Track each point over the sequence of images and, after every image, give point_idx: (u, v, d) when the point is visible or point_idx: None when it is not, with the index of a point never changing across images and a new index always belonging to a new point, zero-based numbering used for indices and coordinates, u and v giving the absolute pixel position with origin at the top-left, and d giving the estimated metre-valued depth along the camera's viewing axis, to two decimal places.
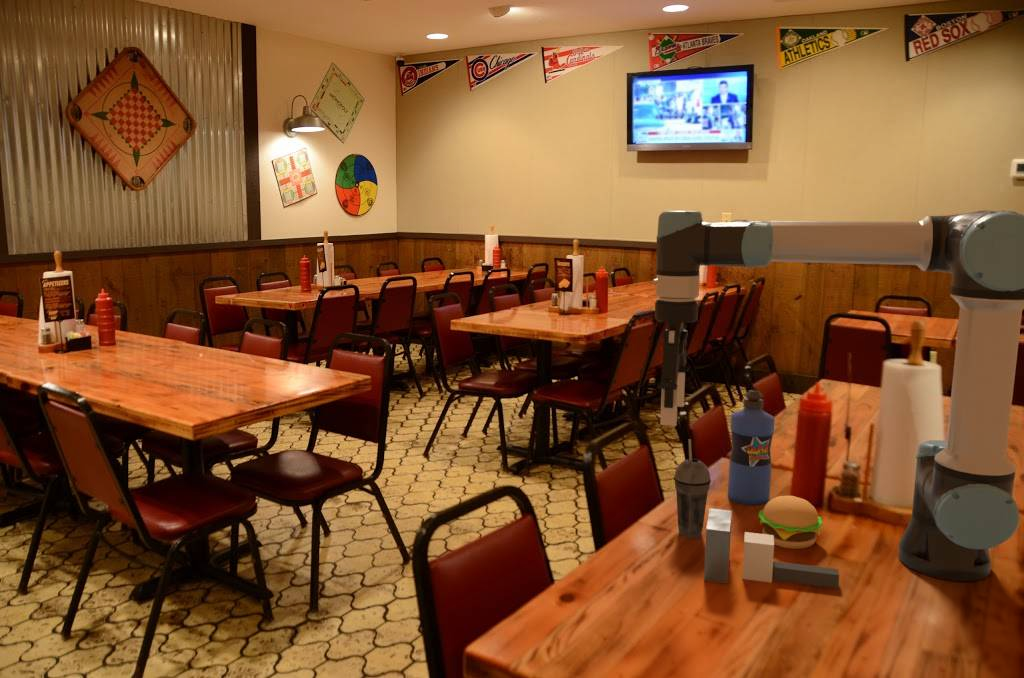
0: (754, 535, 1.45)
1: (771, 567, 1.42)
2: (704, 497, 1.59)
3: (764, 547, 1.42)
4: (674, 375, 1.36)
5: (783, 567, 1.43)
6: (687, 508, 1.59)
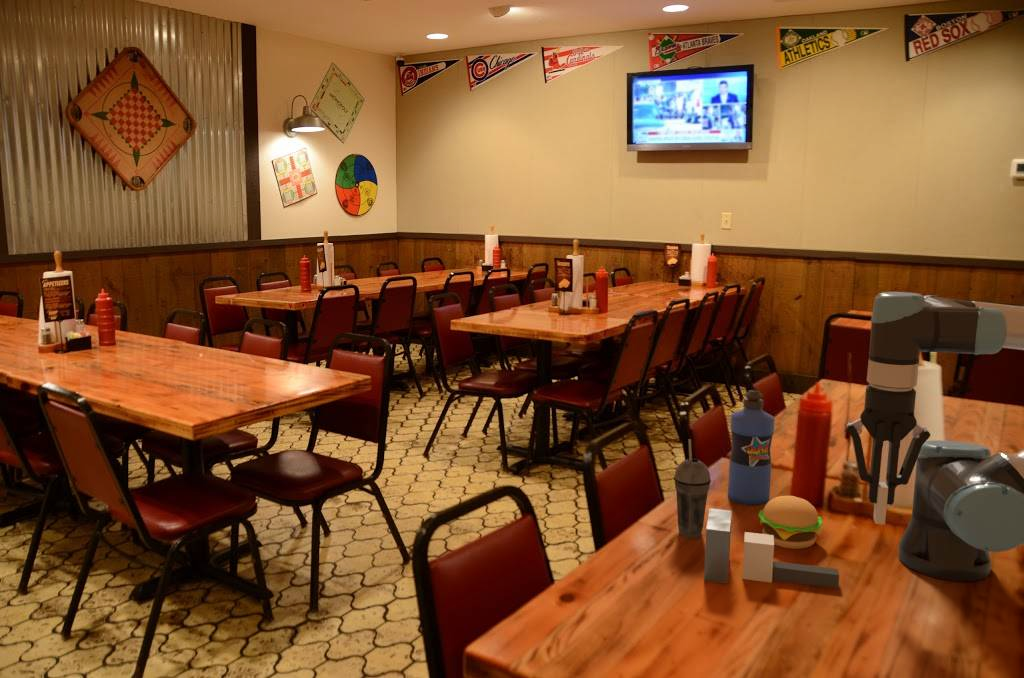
0: (754, 535, 1.45)
1: (771, 567, 1.42)
2: (704, 497, 1.59)
3: (764, 547, 1.42)
4: (858, 469, 1.36)
5: (783, 567, 1.43)
6: (687, 508, 1.59)
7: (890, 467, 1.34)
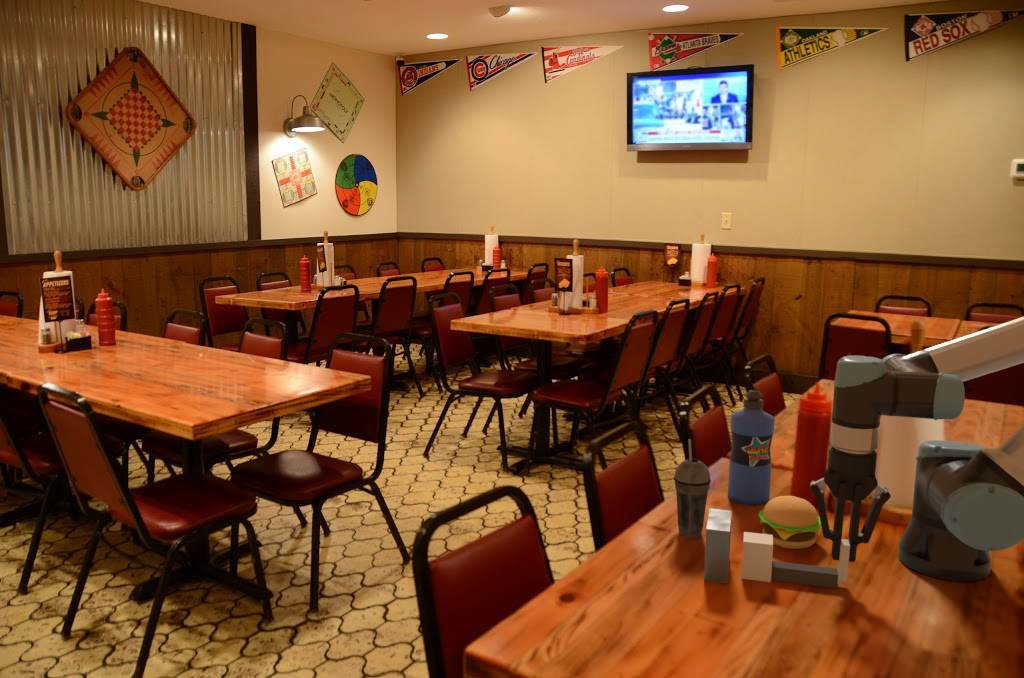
0: (753, 534, 1.45)
1: (770, 567, 1.42)
2: (704, 497, 1.59)
3: (763, 547, 1.42)
4: None
5: (782, 567, 1.43)
6: (687, 508, 1.59)
7: (852, 526, 1.38)
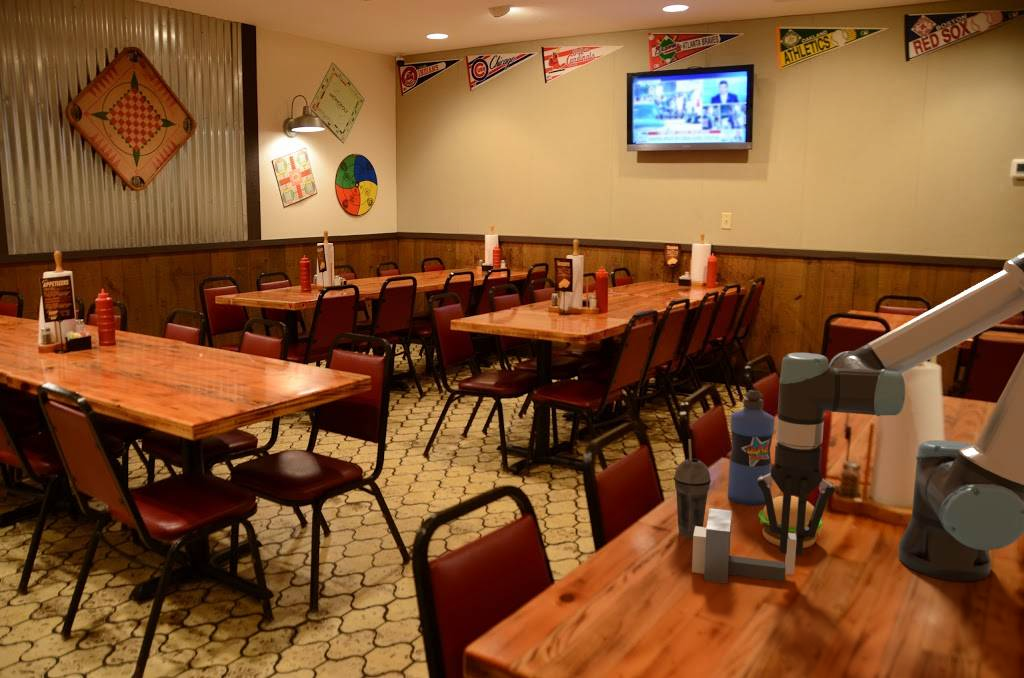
0: (704, 529, 1.48)
1: None
2: (704, 497, 1.59)
3: None
4: (769, 521, 1.42)
5: (731, 560, 1.45)
6: (687, 508, 1.59)
7: (798, 520, 1.40)
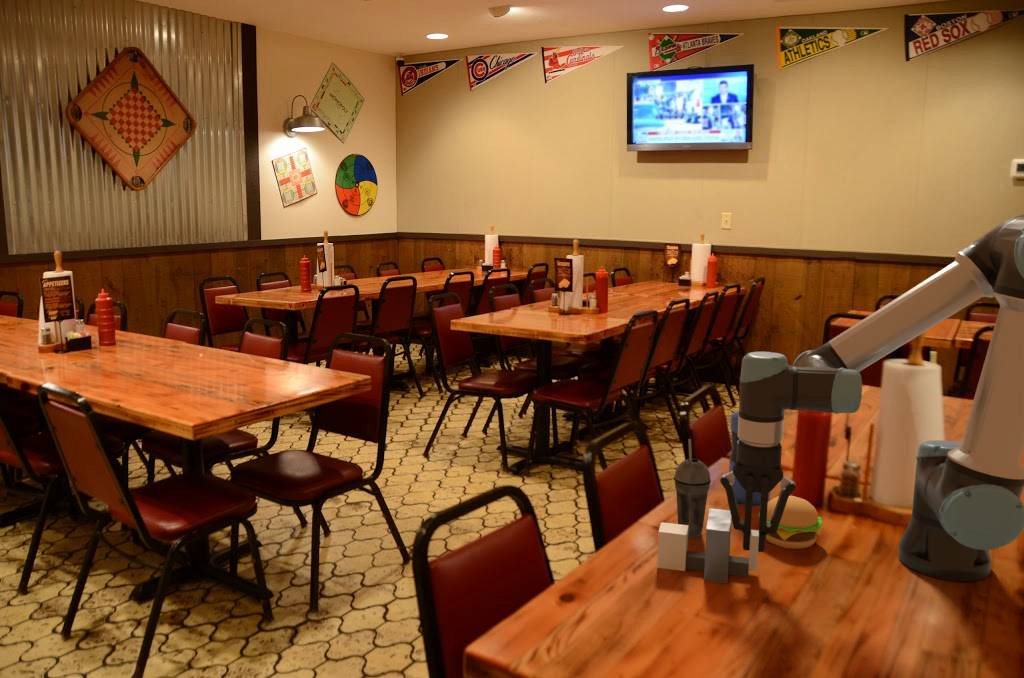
0: (670, 525, 1.50)
1: (684, 556, 1.46)
2: (704, 497, 1.59)
3: (677, 537, 1.46)
4: None
5: (696, 556, 1.47)
6: (687, 508, 1.59)
7: (760, 517, 1.42)
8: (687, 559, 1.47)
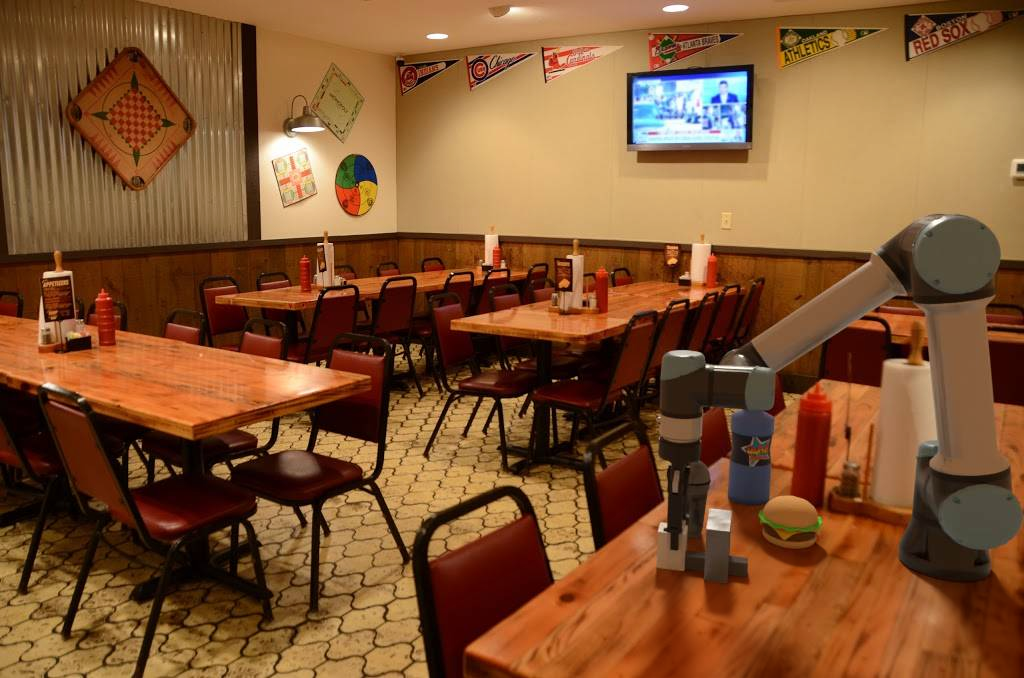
0: None
1: (683, 556, 1.46)
2: (704, 497, 1.59)
3: None
4: (679, 524, 1.42)
5: (695, 556, 1.47)
6: (687, 508, 1.59)
7: (684, 504, 1.49)
8: (686, 559, 1.47)
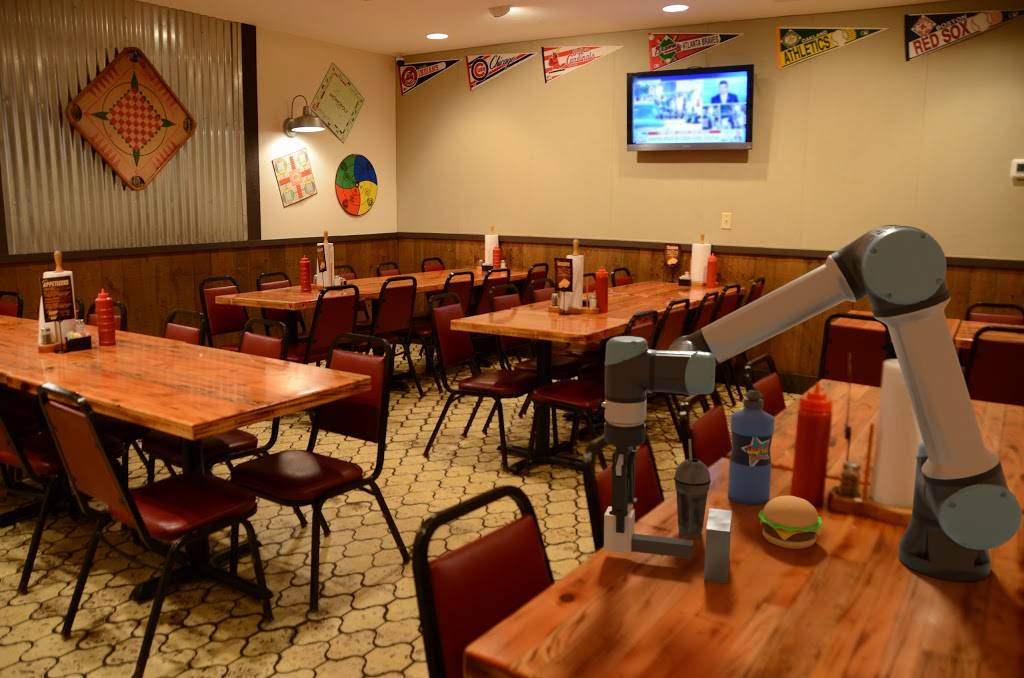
0: None
1: (629, 539, 1.49)
2: (704, 497, 1.59)
3: None
4: (623, 506, 1.44)
5: (641, 539, 1.49)
6: (687, 508, 1.59)
7: (631, 487, 1.52)
8: (633, 542, 1.50)
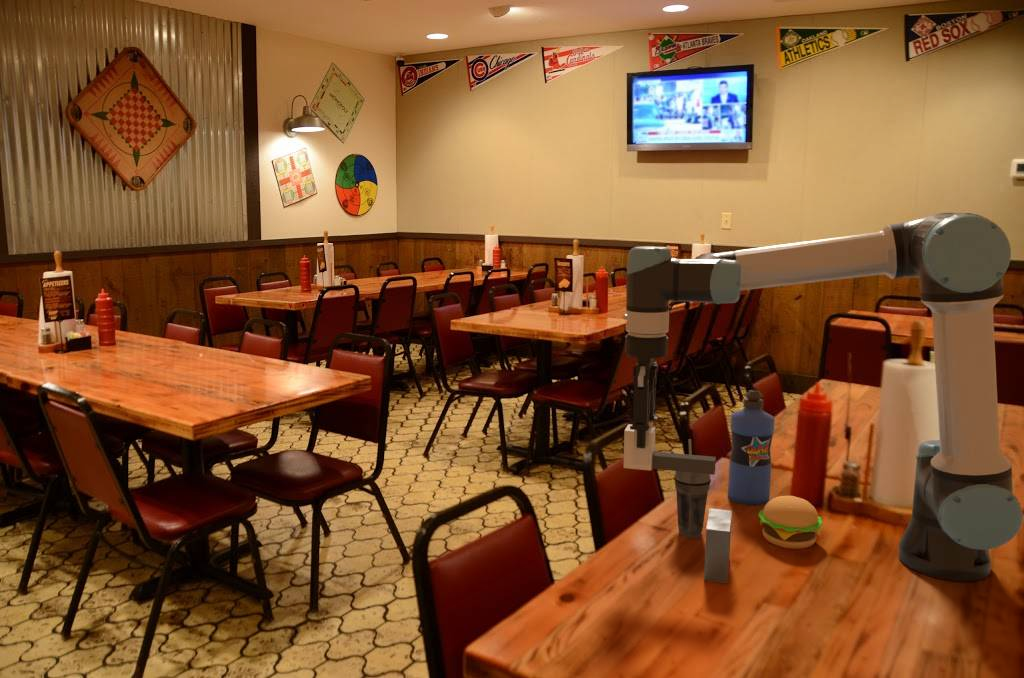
0: None
1: (650, 455, 1.45)
2: (704, 497, 1.59)
3: None
4: (645, 419, 1.40)
5: (662, 455, 1.46)
6: (687, 508, 1.59)
7: (652, 404, 1.48)
8: (653, 459, 1.46)
